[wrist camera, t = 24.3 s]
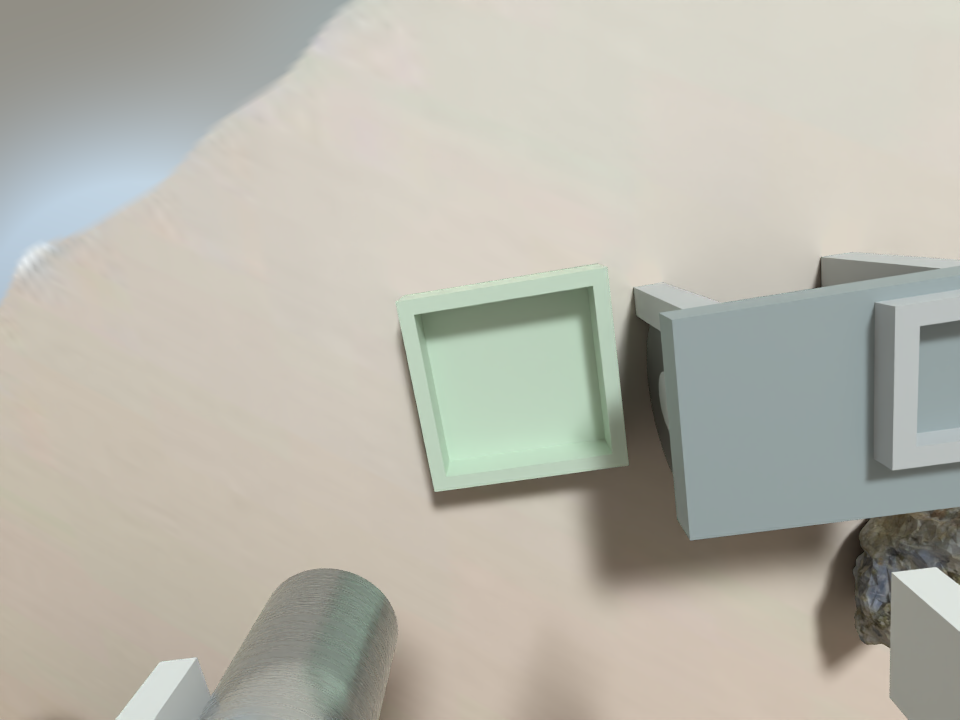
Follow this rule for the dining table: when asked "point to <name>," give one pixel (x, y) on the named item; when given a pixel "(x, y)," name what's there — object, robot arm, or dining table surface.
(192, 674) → the robot arm
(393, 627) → the pin
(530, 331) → the tray
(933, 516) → the rock
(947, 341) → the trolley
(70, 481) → the dining table surface
